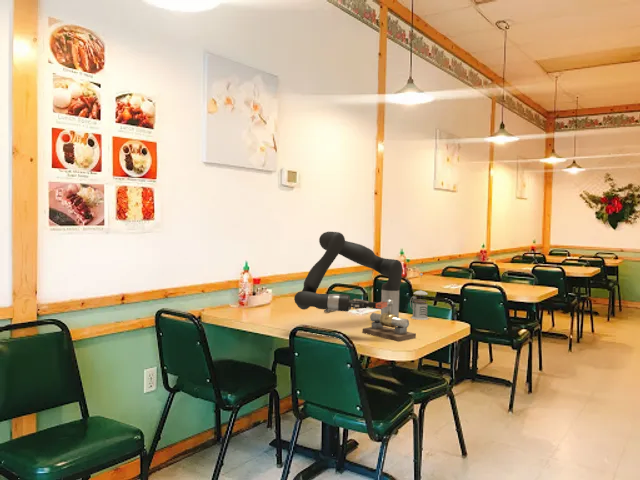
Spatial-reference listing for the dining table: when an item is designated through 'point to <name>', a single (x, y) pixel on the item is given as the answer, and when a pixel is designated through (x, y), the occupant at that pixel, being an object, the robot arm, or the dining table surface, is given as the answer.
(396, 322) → the pipe valve
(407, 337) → the base board
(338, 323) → the dining table surface
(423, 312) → the french press
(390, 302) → the valve lever
